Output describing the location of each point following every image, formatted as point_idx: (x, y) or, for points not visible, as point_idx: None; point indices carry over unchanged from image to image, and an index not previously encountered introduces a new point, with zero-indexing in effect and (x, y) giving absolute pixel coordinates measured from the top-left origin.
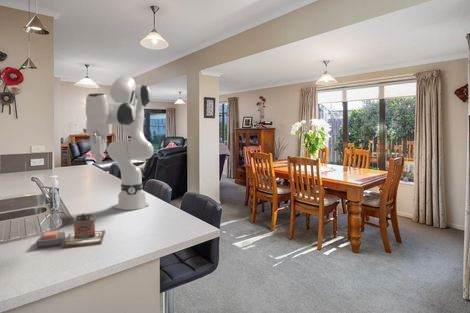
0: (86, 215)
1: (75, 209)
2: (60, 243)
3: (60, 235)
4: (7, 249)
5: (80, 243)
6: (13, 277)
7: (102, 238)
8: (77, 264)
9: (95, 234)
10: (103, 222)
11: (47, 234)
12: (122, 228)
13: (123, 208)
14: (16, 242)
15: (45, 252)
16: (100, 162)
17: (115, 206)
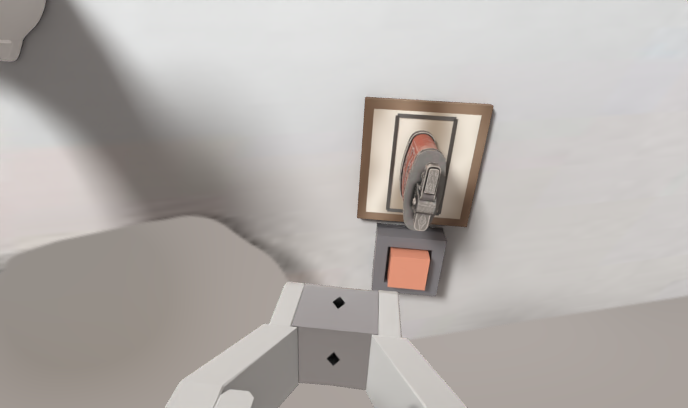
0: (435, 191)
1: (37, 224)
2: (439, 232)
3: (410, 243)
4: None
5: (474, 175)
6: (604, 295)
7: (454, 103)
8: (630, 167)
9: (426, 132)
10: (230, 108)
11: (417, 280)
12: (337, 19)
13: (34, 14)
14: None
15: (473, 257)
16: (395, 309)
17: (4, 59)
